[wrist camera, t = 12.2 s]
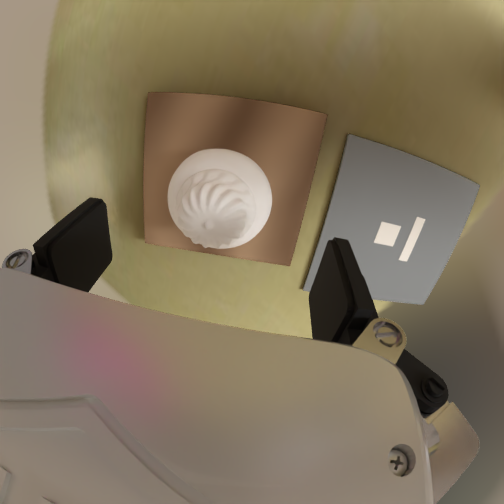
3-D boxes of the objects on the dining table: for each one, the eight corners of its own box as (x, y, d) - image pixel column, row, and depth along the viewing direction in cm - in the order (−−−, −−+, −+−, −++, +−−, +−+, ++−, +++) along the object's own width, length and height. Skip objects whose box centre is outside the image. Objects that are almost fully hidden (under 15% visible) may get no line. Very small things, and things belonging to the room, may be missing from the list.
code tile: (478, 184, 18) (480, 185, 18) (422, 302, 25) (423, 304, 25) (347, 133, 17) (348, 134, 17) (302, 288, 25) (303, 290, 25)
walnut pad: (324, 113, 17) (327, 114, 16) (289, 257, 23) (289, 266, 22) (154, 92, 16) (148, 92, 15) (150, 236, 23) (145, 243, 22)
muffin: (169, 159, 18) (124, 195, 12) (251, 124, 16) (242, 141, 11) (206, 232, 21) (183, 292, 15) (283, 206, 19) (290, 262, 14)
